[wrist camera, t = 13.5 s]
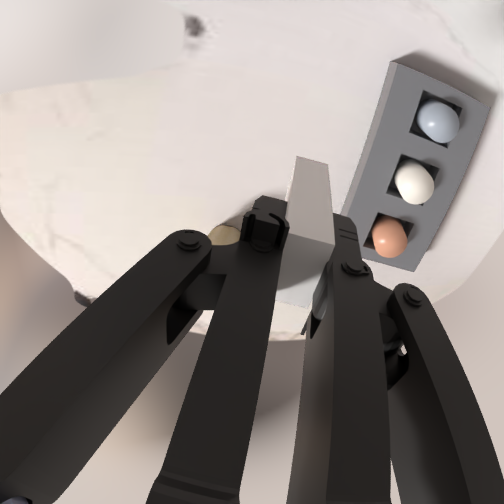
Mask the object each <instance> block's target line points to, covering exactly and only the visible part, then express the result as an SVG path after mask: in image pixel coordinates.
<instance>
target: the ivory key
mask: <svg viewBox="0 0 504 504" xmlns="http://www.w3.org/2000/svg"><path fill="white" fill-rule="evenodd" d="M393 178H394V182H395V184H396V186H397V188H398V190H399V192H400V194H401V196H402V197H403V199H404V200H405V201H406V202H408V203H410V204H421V203H424V202H426V201H427V200H428V199H429V198H430V197H431V196H432V194H433V191H434V181H433V179H432V177H431V176H430V174H429V173H428V172H427V171H426V169H425V168H424V167H423V165H422V164H421V163H420V162H418V161H416V160H413V159H407V160H404V161H402V162H400V163H399V164H398V165H397V166H396V168H395V171H394V174H393Z"/></svg>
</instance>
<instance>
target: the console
mask: <svg viewBox="0 0 504 504" xmlns="http://www.w3.org/2000/svg"><path fill="white" fill-rule="evenodd" d="M427 99H434V100H437V101H439V102H441V103H443V104H445V105H447V106H448V107H450V108H452V109H453V110H454V111H455V112H456V114H457V116H458V118H459V131H458V133H457V135H456V136H455V138H454V139H452V140H451V141H449V142H446V143H439V142H436V141H434V140H433V139H431V138H430V137H429V136H428V135H427V134H426V133H425V132H423V131H422V130H421V129H420V128H419V126H418V125H417V122H416V119H415V113H416V110H417V107H418V105H419V104H420V103H421V102H423V101H424V100H427ZM489 110H490V107H488V106H487V105H485V104H483V103H481V102H480V101H478V100H476V99H474V98H472V97H471V96H469V95H467V94H465V93H463V92H461V91H459V90H457V89H455V88H453V87H451V86H449V85H447V84H445V83H443V82H441V81H439V80H437V79H434V78H432V77H430V76H428V75H425V74H423V73H421V72H419V71H416V70H414V69H411V68H409V67H407V66H404V65H402V64H399V63H396V62H391V61H390V64H389V68H388V71H387V75H386V78H385V82H384V85H383V88H382V92H381V95H380V98H379V102H378V105H377V108H376V111H375V115H374V118H373V121H372V124H371V127H370V130H369V133H368V136H367V140H366V143H365V146H364V149H363V152H362V154H361V157H360V160H359V163H358V166H357V169H356V172H355V175H354V178H353V180H352V183H351V186H350V189H349V192H348V194H347V197H346V200H345V203H344V205H343V208H342V211H341V213H340V215H342V216H346V217H349V218H351V220H352V221H353V222H354V224H355V225H356V228H357V235H358V239H359V241H358V242H359V245H360V251H361V257H362V258H364V259H367V260H371V261H375V262H378V263H382V264H386V265H389V266H393V267H397V268H400V269H404V270H408V271H411V272H414V271H415V270H416V268H417V266H418V264H419V263H420V261H421V259H422V257H423V256H424V254H425V252H426V250H427V248H428V247H429V245H430V243H431V241H432V239H433V237H434V236H435V234H436V232H437V230H438V228H439V226H440V224H441V222H442V220H443V218H444V216H445V214H446V212H447V210H448V208H449V206H450V204H451V202H452V200H453V198H454V196H455V194H456V191H457V189H458V187H459V185H460V183H461V180H462V178H463V176H464V174H465V171H466V169H467V167H468V164H469V162H470V160H471V157H472V155H473V152H474V150H475V147H476V145H477V142H478V140H479V137H480V135H481V132H482V129H483V127H484V124H485V121H486V118H487V115H488V113H489ZM407 159H413V160H416V161H418V162H420V163H421V164H422V165H423V167H424V168H425V169H426V171H427V172H428V173H429V174H430V176H431V177H432V179H433V181H434V191H433V194H432V196H431V197H430V198H429V199H428V200H427V201H426V202H424V203H421V204H410V203H408V202H406V201H405V200H404V199H403V197H402V196H401V194H400V192H399V190H398V188H397V186H396V184H395V182H394V178H393V174H394V171H395V168H396V166H397V165H398V164H399V163H400V162H402V161H404V160H407ZM382 215H389V216H392V217H395V218H398V219H399V220H400V222H401V224H402V227H403V229H404V232H405V234H406V237H407V247H406V249H405V250H404V252H403V253H401V254H400V255H398V256H396V257H393V258H386V257H383V256H381V255H379V254H378V253H377V251H376V249H375V245H374V241H373V237H372V233H371V227H372V224H373V222H374V221H375V219H377V218H378V217H380V216H382Z"/></svg>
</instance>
